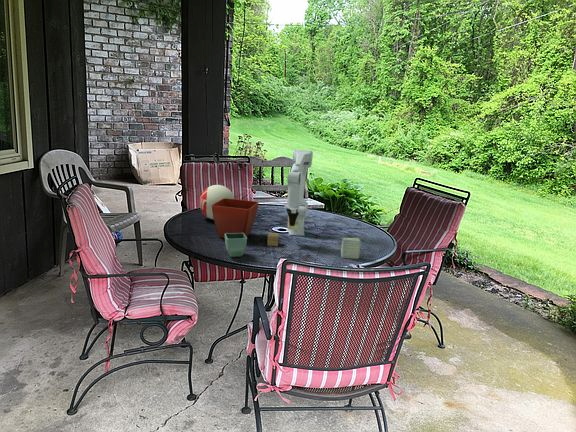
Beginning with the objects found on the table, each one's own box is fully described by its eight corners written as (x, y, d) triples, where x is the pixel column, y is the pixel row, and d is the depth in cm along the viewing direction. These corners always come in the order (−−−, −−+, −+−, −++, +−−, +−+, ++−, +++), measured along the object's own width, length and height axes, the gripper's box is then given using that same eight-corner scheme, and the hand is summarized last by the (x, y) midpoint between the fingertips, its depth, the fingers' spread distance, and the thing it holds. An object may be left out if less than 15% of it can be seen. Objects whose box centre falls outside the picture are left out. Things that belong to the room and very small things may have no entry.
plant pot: (247, 243, 227) (249, 209, 223) (210, 238, 230) (210, 205, 226) (257, 233, 245) (259, 201, 241) (222, 229, 248) (223, 197, 244)
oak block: (287, 227, 230) (288, 216, 228) (296, 227, 230) (297, 216, 229) (288, 229, 225) (288, 218, 224) (297, 229, 226) (298, 218, 224)
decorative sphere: (201, 214, 276) (201, 181, 271) (235, 216, 277) (236, 183, 272) (196, 223, 256) (197, 187, 252) (233, 224, 258) (234, 189, 253)
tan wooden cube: (267, 242, 229) (267, 232, 228) (277, 243, 230) (278, 233, 228) (267, 245, 224) (268, 235, 223) (277, 246, 225) (278, 236, 224)
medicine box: (357, 256, 217) (359, 238, 215) (359, 259, 213) (360, 240, 211) (340, 255, 217) (342, 237, 215) (341, 258, 212) (343, 240, 210)
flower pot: (226, 258, 202) (227, 238, 200) (223, 252, 210) (224, 233, 208) (246, 258, 205) (247, 238, 202) (243, 251, 213) (243, 232, 211)
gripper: (284, 193, 231) (282, 220, 234) (286, 199, 217) (284, 227, 220) (298, 194, 231) (296, 221, 234) (301, 200, 217) (299, 228, 220)
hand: (291, 224), depth 227 cm, fingers closed on oak block, 4 cm apart
